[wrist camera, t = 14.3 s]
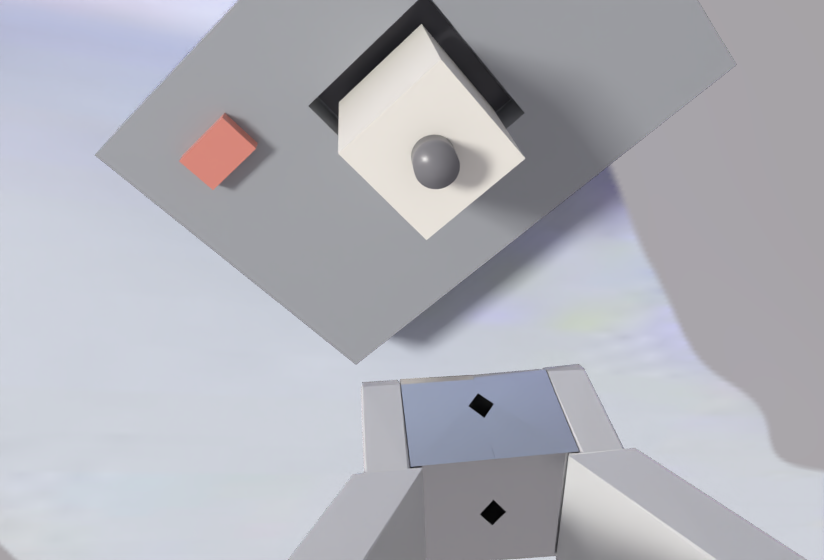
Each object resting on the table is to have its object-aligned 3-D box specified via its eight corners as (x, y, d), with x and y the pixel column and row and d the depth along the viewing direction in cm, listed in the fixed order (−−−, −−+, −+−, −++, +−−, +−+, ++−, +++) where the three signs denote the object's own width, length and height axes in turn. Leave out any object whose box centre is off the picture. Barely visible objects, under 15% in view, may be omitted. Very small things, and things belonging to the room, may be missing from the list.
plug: (418, 17, 26) (445, 67, 19) (486, 98, 27) (533, 170, 21) (338, 93, 27) (337, 165, 20) (409, 166, 29) (429, 254, 22)
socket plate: (497, -278, 22) (522, -303, 19) (700, 47, 28) (744, 68, 25) (117, 129, 28) (89, 160, 25) (355, 327, 34) (356, 372, 31)
